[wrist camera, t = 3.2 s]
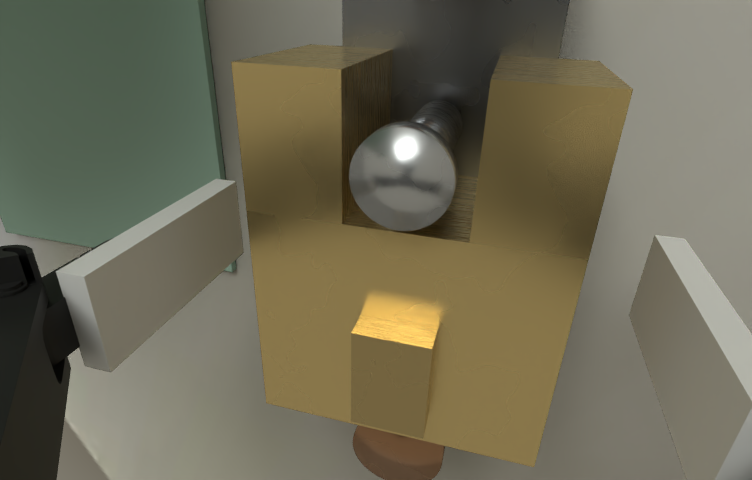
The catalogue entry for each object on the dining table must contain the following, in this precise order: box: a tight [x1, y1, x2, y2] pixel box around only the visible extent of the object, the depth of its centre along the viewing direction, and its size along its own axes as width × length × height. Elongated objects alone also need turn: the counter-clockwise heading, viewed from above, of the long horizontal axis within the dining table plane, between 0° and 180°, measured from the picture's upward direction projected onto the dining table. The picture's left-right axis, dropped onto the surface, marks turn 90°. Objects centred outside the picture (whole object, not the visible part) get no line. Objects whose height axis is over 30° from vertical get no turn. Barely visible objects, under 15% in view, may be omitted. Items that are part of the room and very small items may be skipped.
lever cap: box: [231, 44, 633, 467], centre depth 13 cm, size 10×8×5 cm
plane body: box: [342, 0, 569, 480], centre depth 15 cm, size 18×6×9 cm, turn 178°
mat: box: [0, 0, 236, 272], centre depth 22 cm, size 14×14×1 cm
